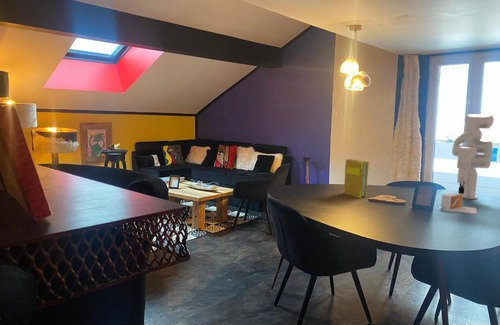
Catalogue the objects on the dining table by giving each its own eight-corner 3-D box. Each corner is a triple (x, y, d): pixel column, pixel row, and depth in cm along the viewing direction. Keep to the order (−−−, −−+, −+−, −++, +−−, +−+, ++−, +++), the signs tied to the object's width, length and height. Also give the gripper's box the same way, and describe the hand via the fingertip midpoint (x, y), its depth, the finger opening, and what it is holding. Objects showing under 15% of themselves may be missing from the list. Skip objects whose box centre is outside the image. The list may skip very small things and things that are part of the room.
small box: (461, 206, 245) (450, 209, 238) (452, 204, 251) (440, 206, 244) (463, 194, 244) (451, 196, 237) (453, 192, 249) (441, 194, 243)
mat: (444, 205, 251) (444, 204, 251) (476, 209, 243) (476, 208, 243) (443, 210, 237) (443, 209, 237) (477, 214, 229) (477, 213, 229)
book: (366, 196, 271) (368, 161, 268) (360, 197, 267) (362, 162, 264) (348, 192, 285) (350, 159, 281) (341, 193, 281) (343, 159, 278)
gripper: (457, 164, 258) (454, 190, 261) (457, 166, 245) (454, 194, 248) (469, 165, 255) (467, 192, 257) (470, 167, 242) (467, 196, 244)
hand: (461, 193), depth 253 cm, fingers closed
